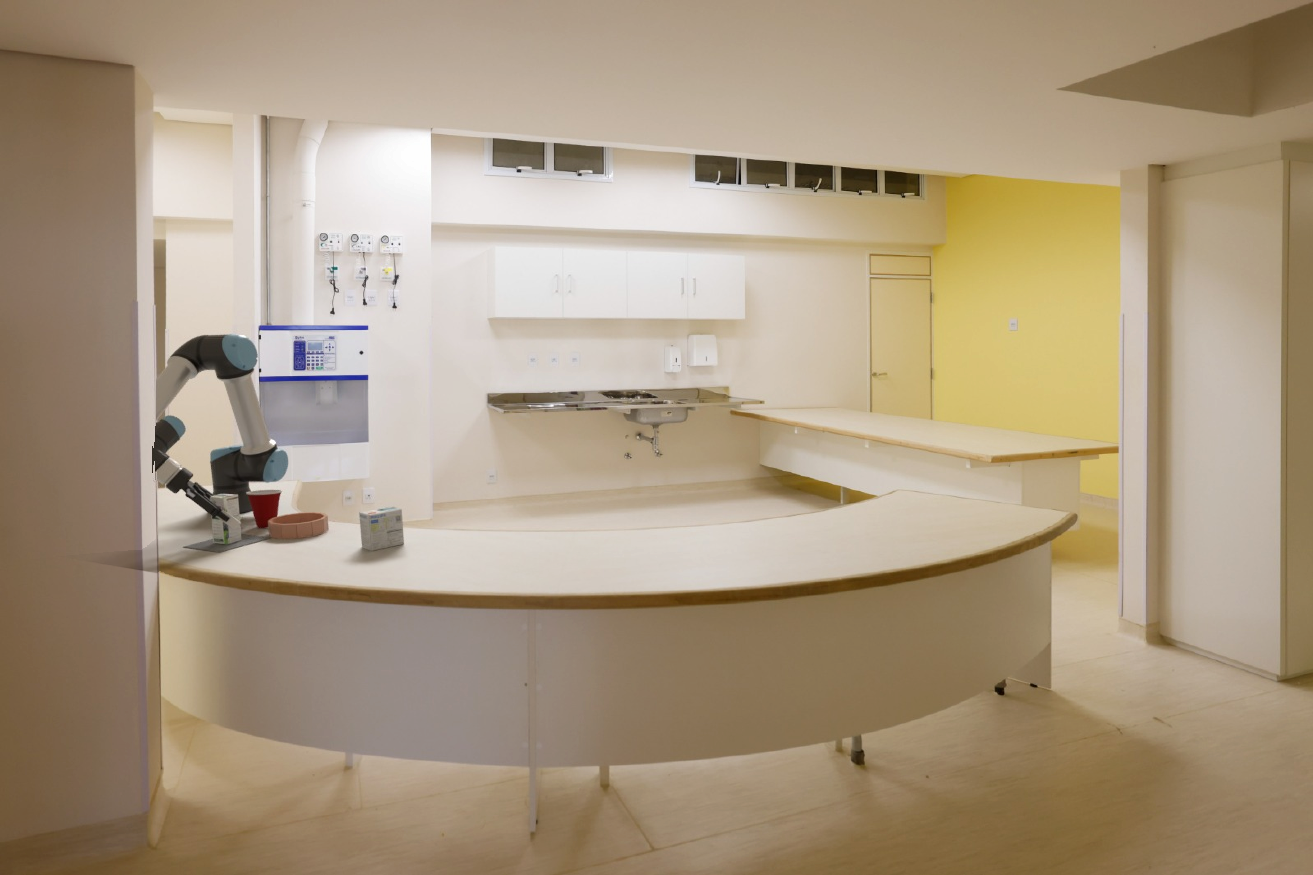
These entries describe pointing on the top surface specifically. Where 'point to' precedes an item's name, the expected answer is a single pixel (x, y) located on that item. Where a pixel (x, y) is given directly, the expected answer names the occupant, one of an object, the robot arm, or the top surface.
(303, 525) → the ceramic bowl
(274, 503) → the plastic cup
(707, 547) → the top surface
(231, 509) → the syrup box
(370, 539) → the light bulb box
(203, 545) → the rubber mat
